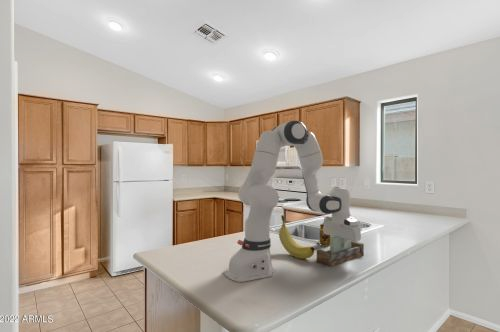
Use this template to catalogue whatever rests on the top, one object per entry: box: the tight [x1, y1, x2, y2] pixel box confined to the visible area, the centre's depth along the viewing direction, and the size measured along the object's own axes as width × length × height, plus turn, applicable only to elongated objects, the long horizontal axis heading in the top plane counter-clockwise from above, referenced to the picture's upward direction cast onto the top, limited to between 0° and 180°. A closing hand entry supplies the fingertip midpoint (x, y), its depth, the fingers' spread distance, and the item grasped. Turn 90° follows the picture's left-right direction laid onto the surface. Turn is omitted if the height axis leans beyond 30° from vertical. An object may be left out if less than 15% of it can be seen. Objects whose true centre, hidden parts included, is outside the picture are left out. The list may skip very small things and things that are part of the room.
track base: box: [316, 241, 365, 267], centre depth 136 cm, size 28×7×6 cm, turn 125°
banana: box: [278, 214, 315, 260], centre depth 140 cm, size 23×6×20 cm, turn 39°
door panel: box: [329, 236, 351, 254], centre depth 136 cm, size 14×2×10 cm, turn 125°
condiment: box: [319, 223, 331, 247], centre depth 161 cm, size 7×8×12 cm
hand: (340, 246), depth 136 cm, fingers open, 3 cm apart
